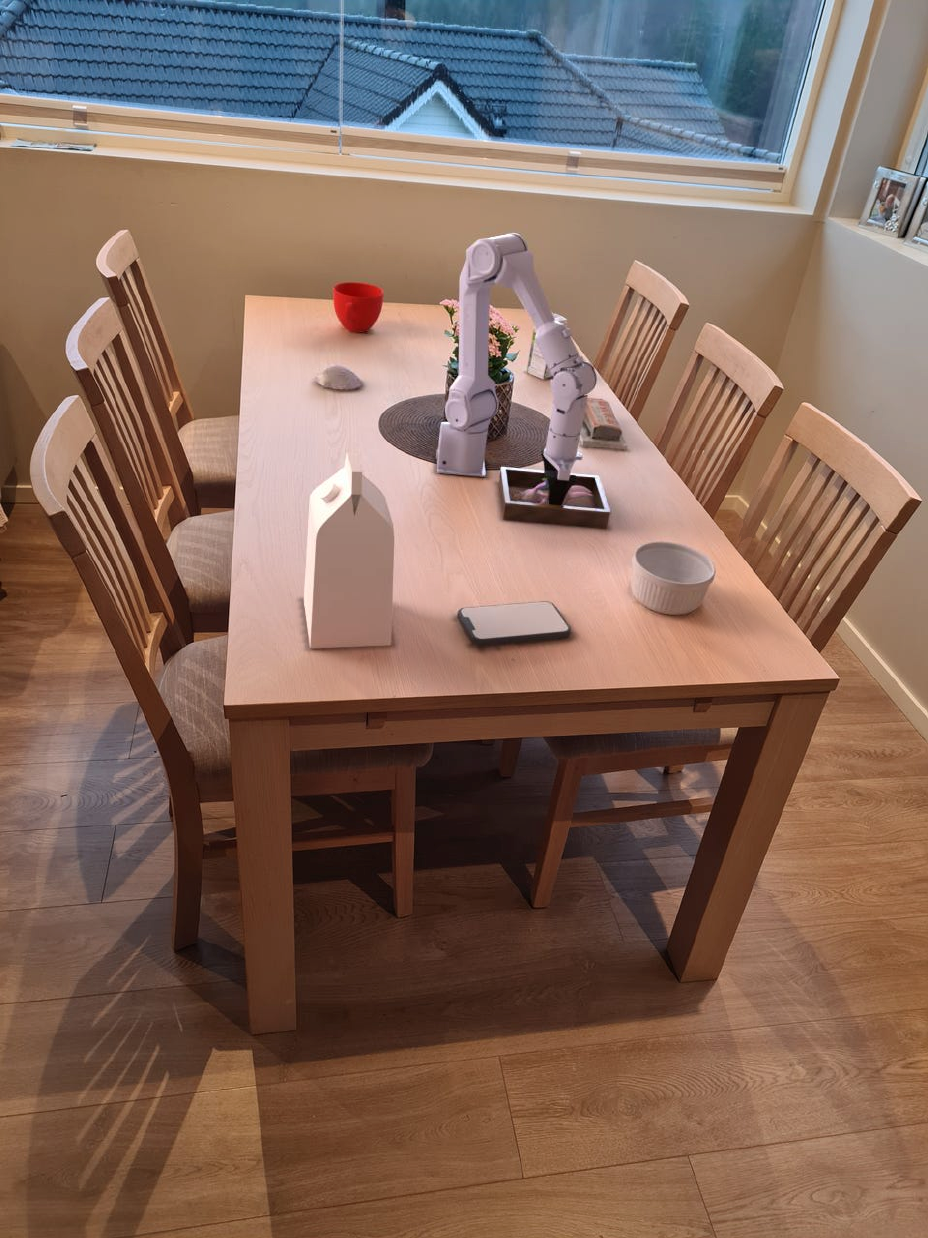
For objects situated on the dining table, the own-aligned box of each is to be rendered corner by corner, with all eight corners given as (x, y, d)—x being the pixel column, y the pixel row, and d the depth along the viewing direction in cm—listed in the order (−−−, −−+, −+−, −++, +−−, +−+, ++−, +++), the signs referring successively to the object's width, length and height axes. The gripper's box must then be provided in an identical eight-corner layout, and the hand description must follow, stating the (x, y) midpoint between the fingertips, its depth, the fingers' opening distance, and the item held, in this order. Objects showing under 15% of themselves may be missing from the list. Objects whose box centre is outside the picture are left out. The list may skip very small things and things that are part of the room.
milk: (391, 645, 135) (404, 482, 120) (310, 648, 132) (314, 482, 117) (379, 598, 144) (390, 442, 130) (303, 600, 142) (306, 441, 127)
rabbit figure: (515, 517, 173) (595, 510, 174) (515, 489, 170) (596, 481, 171) (510, 501, 179) (588, 494, 179) (510, 473, 175) (589, 466, 176)
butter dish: (571, 393, 212) (614, 397, 213) (567, 414, 215) (610, 417, 216) (585, 426, 197) (631, 430, 198) (581, 447, 200) (626, 451, 201)
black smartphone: (549, 607, 148) (454, 615, 143) (551, 599, 147) (455, 607, 142) (572, 640, 141) (473, 650, 136) (574, 632, 140) (474, 641, 135)
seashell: (304, 369, 210) (332, 349, 216) (307, 390, 214) (335, 371, 220) (340, 381, 206) (367, 361, 212) (342, 402, 210) (369, 382, 216)
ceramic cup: (321, 336, 239) (322, 296, 233) (339, 317, 253) (340, 279, 247) (371, 344, 238) (373, 304, 233) (386, 324, 252) (388, 286, 246)
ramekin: (610, 581, 156) (618, 545, 152) (675, 571, 161) (685, 536, 157) (653, 626, 147) (663, 588, 143) (721, 614, 152) (732, 577, 148)
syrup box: (540, 368, 238) (549, 311, 229) (558, 376, 234) (568, 318, 226) (525, 372, 234) (534, 314, 226) (543, 380, 231) (553, 321, 223)
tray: (502, 520, 169) (505, 502, 167) (497, 482, 182) (500, 466, 180) (607, 529, 171) (610, 512, 169) (595, 491, 183) (599, 475, 181)
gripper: (592, 449, 162) (578, 518, 170) (581, 416, 174) (568, 482, 182) (552, 445, 162) (539, 514, 169) (544, 412, 173) (532, 478, 181)
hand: (552, 497), depth 175 cm, fingers open, 7 cm apart
